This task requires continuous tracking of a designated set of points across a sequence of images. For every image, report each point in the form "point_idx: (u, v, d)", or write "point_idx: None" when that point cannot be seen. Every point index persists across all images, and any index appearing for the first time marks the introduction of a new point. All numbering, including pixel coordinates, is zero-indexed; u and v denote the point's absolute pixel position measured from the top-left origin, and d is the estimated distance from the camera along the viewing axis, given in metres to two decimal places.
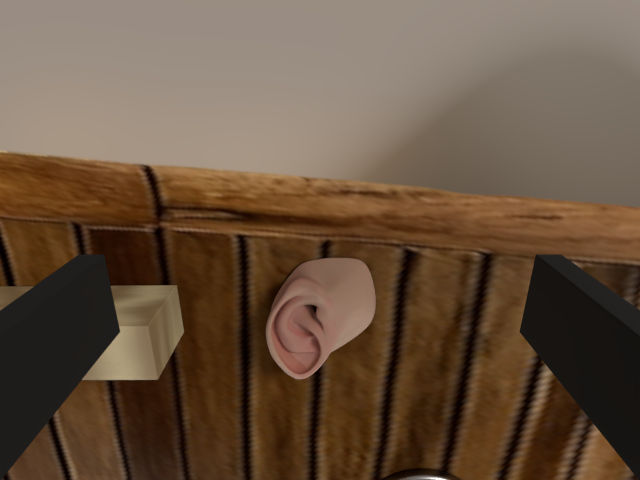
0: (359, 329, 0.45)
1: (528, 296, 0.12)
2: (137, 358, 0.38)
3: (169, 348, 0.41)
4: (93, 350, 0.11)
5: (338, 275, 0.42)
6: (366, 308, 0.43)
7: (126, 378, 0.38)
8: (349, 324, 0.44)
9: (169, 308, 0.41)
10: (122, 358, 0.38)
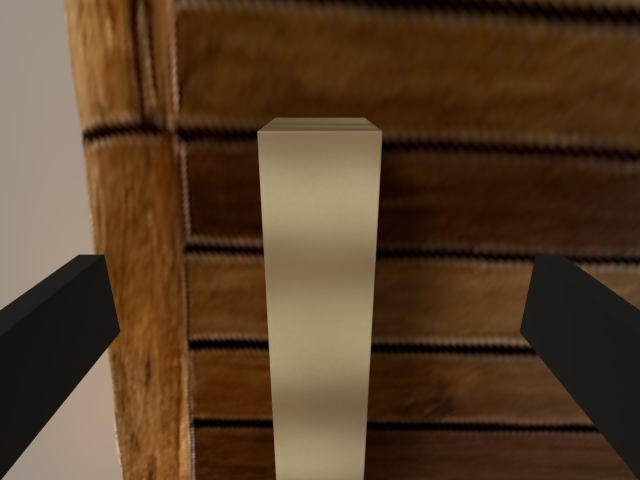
0: None
1: (528, 296, 0.12)
2: (329, 163, 0.20)
3: (356, 124, 0.23)
4: (93, 350, 0.11)
5: None
6: None
7: (375, 191, 0.20)
8: None
9: (289, 121, 0.24)
10: (329, 190, 0.20)
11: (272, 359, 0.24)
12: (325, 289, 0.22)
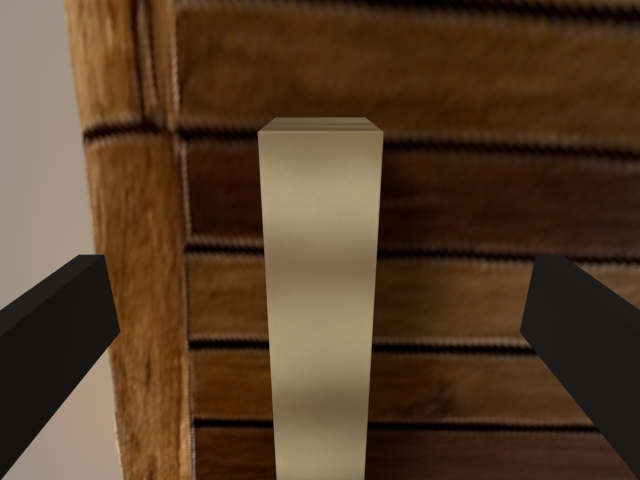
0: None
1: (528, 296, 0.12)
2: (330, 163, 0.20)
3: (356, 124, 0.22)
4: (93, 350, 0.11)
5: None
6: None
7: (376, 192, 0.20)
8: None
9: (290, 121, 0.24)
10: (330, 190, 0.20)
11: (272, 360, 0.24)
12: (326, 290, 0.22)
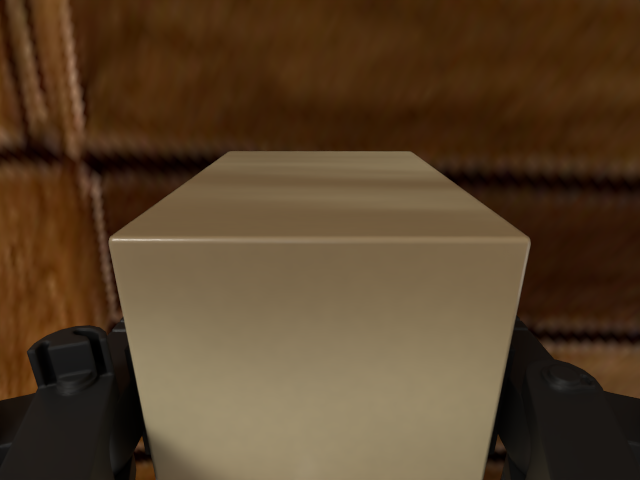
0: None
1: None
2: (348, 331, 0.06)
3: (410, 181, 0.09)
4: None
5: None
6: None
7: (487, 405, 0.07)
8: None
9: (249, 168, 0.10)
10: (348, 401, 0.07)
11: None
12: None
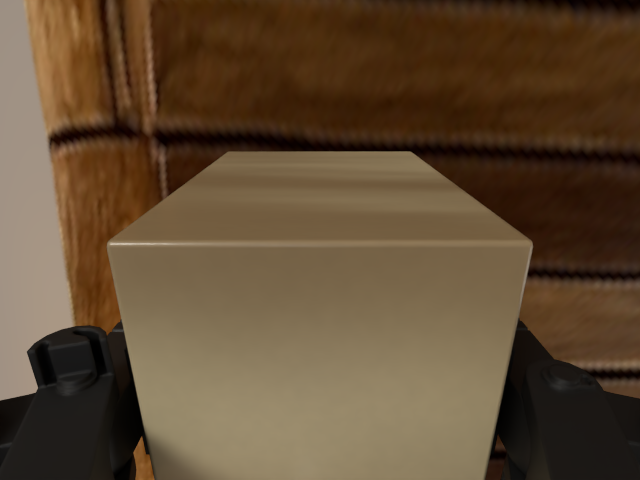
0: None
1: None
2: (349, 336, 0.06)
3: (411, 182, 0.09)
4: None
5: None
6: None
7: (489, 409, 0.07)
8: None
9: (248, 169, 0.10)
10: (349, 405, 0.07)
11: None
12: None
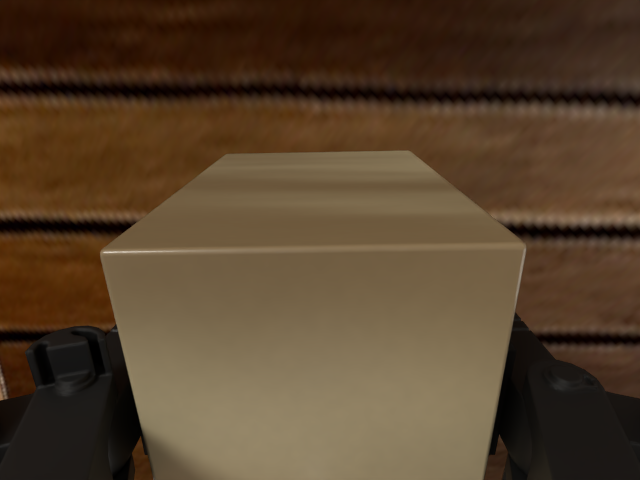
0: None
1: None
2: (344, 339, 0.06)
3: (407, 183, 0.09)
4: None
5: None
6: None
7: (486, 411, 0.07)
8: None
9: (245, 172, 0.10)
10: (345, 409, 0.07)
11: None
12: None
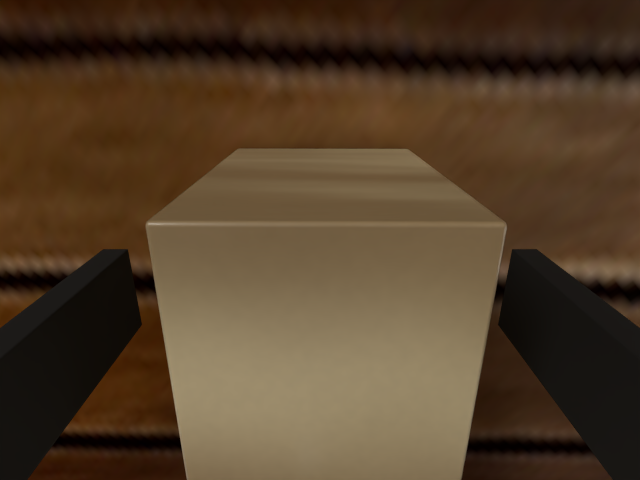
0: None
1: (506, 290, 0.13)
2: (351, 304, 0.07)
3: (406, 176, 0.10)
4: (118, 342, 0.12)
5: None
6: None
7: (472, 371, 0.08)
8: None
9: (258, 164, 0.11)
10: (350, 367, 0.08)
11: None
12: None
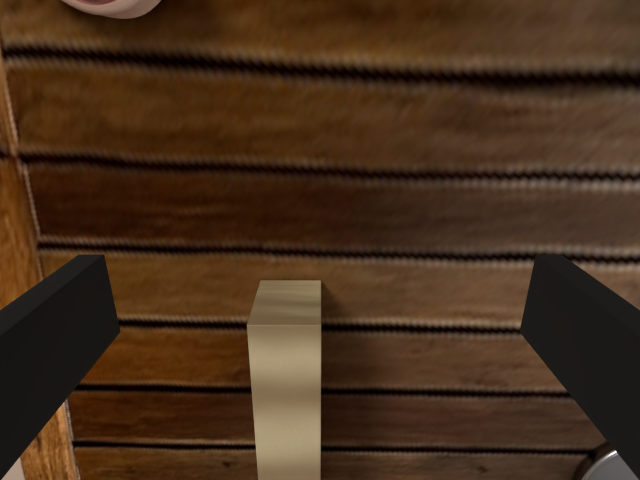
0: None
1: (528, 296, 0.12)
2: (290, 341, 0.33)
3: (310, 302, 0.36)
4: (93, 350, 0.11)
5: None
6: None
7: (318, 355, 0.33)
8: None
9: (268, 294, 0.37)
10: (290, 354, 0.33)
11: (257, 447, 0.37)
12: (290, 408, 0.35)
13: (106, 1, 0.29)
